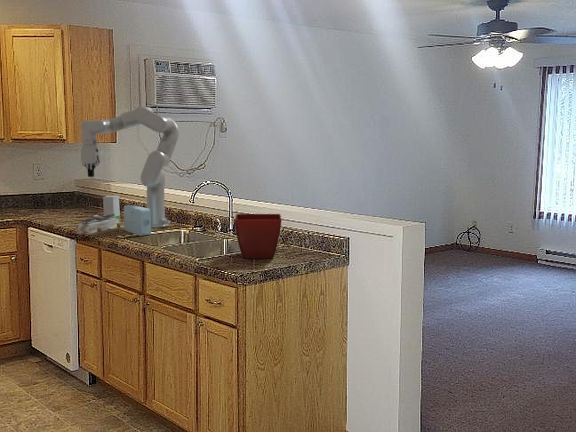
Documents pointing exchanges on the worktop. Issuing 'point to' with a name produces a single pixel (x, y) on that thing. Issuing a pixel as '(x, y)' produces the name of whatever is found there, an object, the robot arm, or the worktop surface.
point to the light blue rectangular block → (137, 220)
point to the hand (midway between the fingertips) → (91, 176)
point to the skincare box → (111, 206)
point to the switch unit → (99, 227)
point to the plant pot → (258, 234)
